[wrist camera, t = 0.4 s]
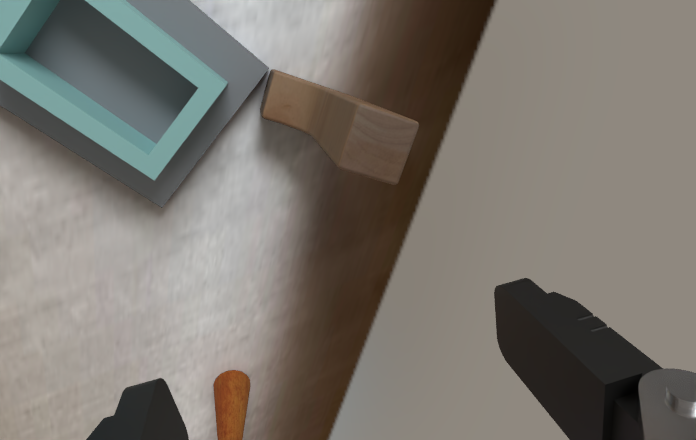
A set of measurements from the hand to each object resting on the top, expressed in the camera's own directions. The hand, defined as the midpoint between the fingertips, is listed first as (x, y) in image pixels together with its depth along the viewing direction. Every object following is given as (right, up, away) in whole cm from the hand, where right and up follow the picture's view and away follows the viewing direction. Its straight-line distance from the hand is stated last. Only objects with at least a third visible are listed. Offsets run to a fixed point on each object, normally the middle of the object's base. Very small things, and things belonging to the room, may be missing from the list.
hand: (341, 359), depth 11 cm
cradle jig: (-15, +14, +21) cm, 29 cm away
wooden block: (-3, +12, +24) cm, 27 cm away
